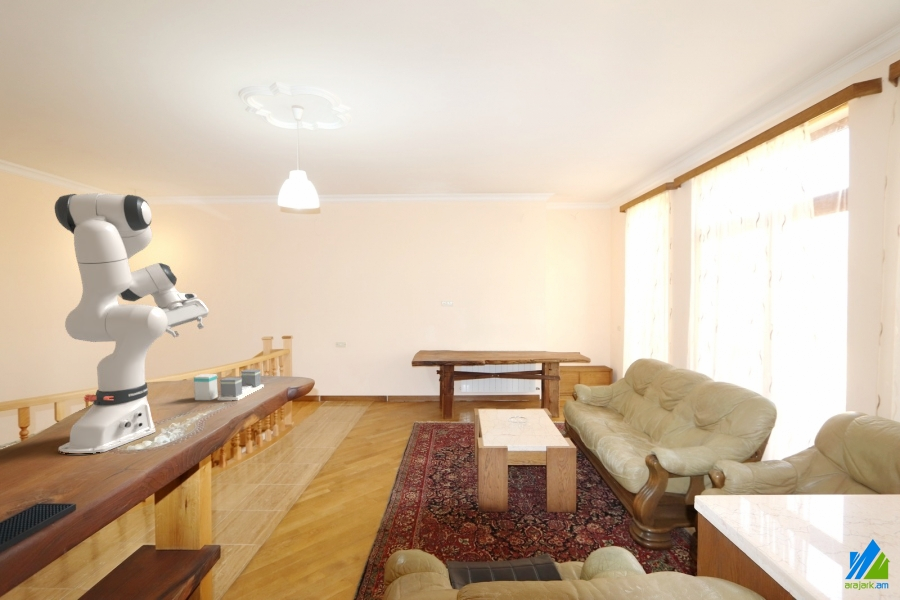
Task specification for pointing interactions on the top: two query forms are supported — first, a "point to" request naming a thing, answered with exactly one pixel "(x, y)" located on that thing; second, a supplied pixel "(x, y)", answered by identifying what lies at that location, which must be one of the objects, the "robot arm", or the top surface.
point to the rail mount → (240, 385)
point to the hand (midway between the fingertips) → (189, 332)
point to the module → (205, 386)
